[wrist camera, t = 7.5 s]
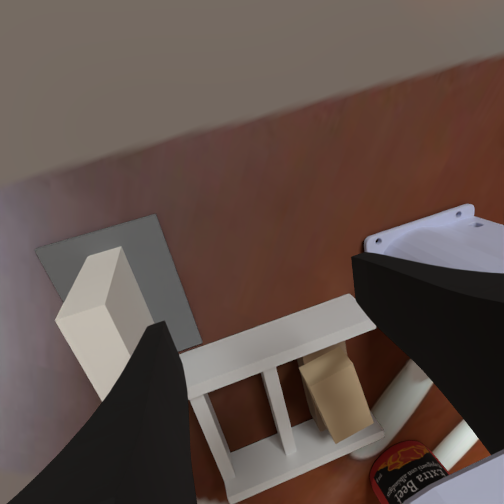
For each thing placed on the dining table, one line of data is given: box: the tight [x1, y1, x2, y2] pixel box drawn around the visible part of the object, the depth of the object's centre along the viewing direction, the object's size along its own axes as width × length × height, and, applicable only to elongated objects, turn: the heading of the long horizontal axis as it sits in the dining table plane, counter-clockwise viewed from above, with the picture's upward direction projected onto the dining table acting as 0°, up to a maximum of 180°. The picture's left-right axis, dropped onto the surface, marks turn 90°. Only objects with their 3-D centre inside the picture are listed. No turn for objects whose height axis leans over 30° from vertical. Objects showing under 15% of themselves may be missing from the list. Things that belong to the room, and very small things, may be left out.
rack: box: [179, 294, 384, 504], centre depth 26 cm, size 14×13×4 cm
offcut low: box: [297, 340, 347, 432], centre depth 28 cm, size 4×9×2 cm, turn 15°
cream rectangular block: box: [55, 246, 154, 402], centre depth 18 cm, size 2×8×7 cm, turn 13°
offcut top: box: [299, 347, 374, 444], centre depth 26 cm, size 4×7×2 cm, turn 23°
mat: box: [35, 214, 202, 351], centre depth 21 cm, size 7×10×1 cm
